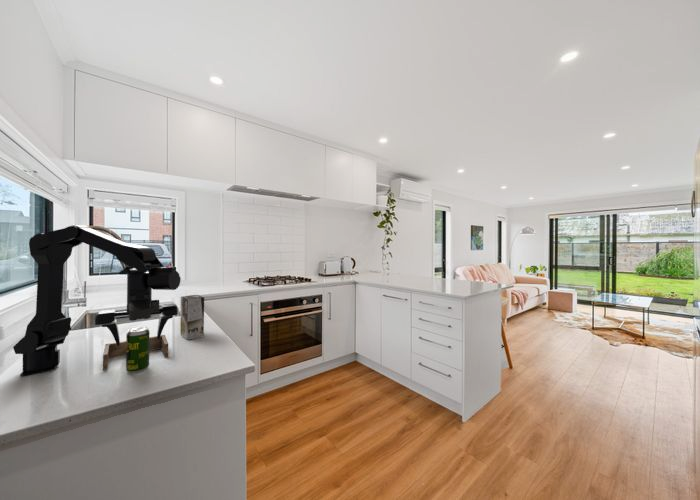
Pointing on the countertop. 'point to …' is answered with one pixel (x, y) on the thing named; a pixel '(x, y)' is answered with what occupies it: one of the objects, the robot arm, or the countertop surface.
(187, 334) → the coffee box
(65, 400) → the countertop surface
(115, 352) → the wooden u-shaped frame
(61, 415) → the countertop surface
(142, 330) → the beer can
